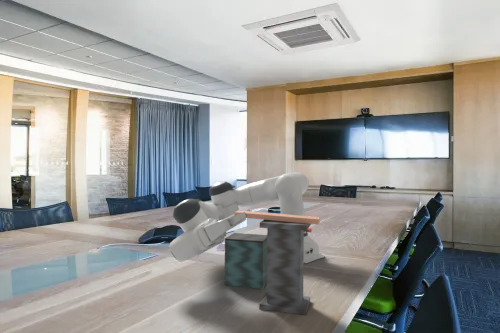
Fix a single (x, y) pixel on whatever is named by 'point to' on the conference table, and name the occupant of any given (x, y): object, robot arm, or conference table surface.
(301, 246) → the tall pedestal
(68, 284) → the conference table surface
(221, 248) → the mobile phone
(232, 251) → the low pedestal
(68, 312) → the conference table surface
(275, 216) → the slat
